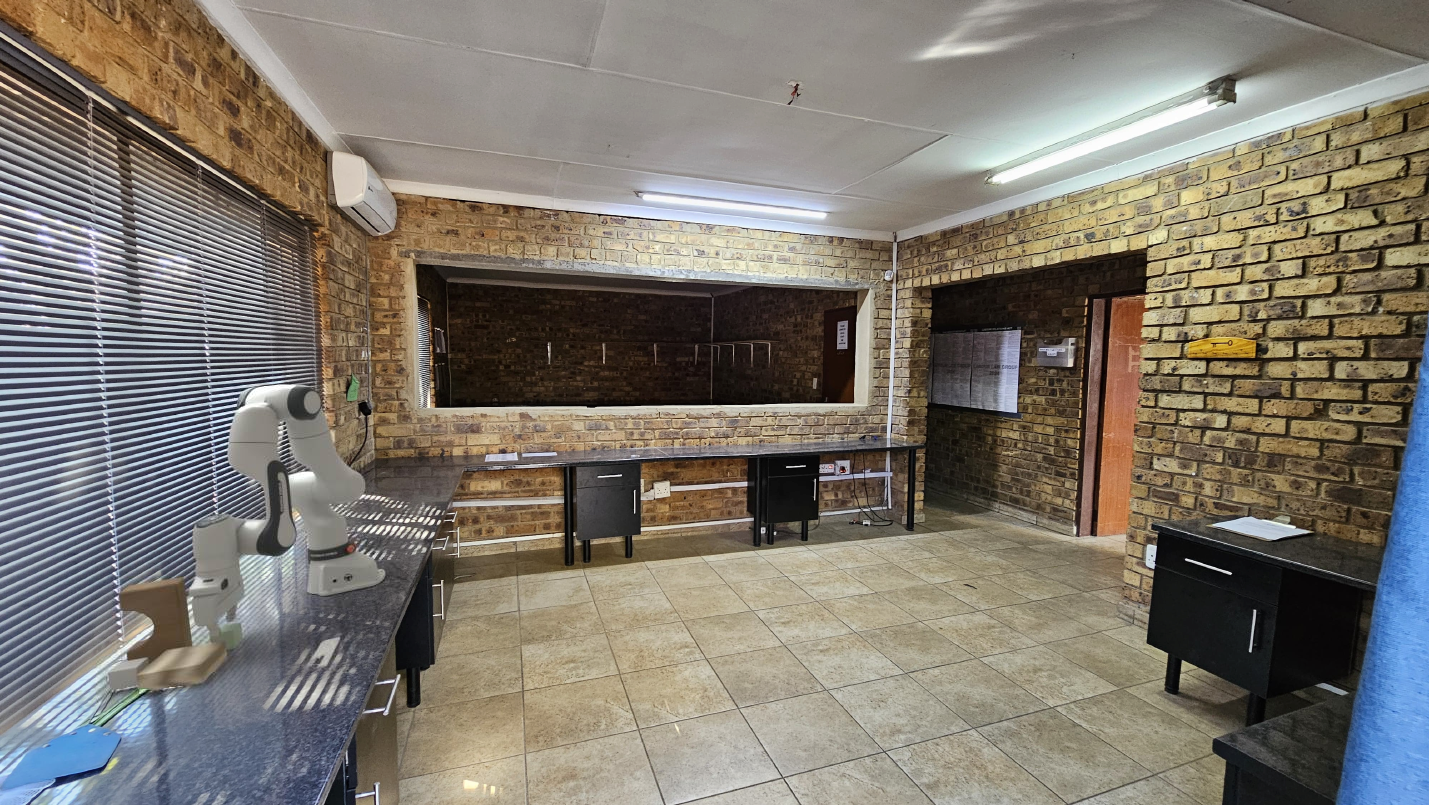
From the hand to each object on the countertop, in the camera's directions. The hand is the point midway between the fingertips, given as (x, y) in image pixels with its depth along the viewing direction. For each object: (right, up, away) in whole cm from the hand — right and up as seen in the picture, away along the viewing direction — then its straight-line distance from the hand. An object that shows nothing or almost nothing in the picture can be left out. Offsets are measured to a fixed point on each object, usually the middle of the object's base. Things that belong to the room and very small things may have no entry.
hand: (223, 628), depth 152 cm
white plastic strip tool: (+30, -5, -5) cm, 31 cm away
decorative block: (-12, -6, -5) cm, 14 cm away
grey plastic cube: (-8, -7, -16) cm, 19 cm away
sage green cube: (0, -5, +1) cm, 5 cm away
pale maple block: (+2, -7, -13) cm, 15 cm away
